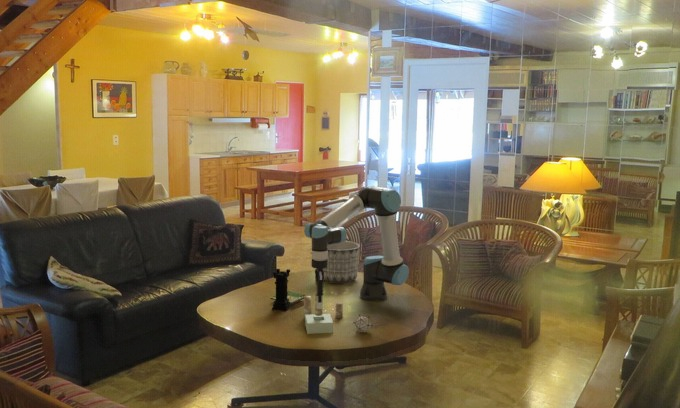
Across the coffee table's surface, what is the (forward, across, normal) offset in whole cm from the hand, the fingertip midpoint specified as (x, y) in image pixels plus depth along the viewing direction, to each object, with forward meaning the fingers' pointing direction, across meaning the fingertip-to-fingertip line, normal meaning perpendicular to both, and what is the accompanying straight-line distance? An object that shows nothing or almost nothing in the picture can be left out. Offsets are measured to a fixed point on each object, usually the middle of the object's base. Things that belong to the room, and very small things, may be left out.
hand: (319, 306), depth 280 cm
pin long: (+4, 0, 0) cm, 4 cm away
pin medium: (+11, -15, -4) cm, 19 cm away
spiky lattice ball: (+11, +7, +20) cm, 24 cm away
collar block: (+11, 0, 0) cm, 11 cm away
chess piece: (+11, -32, -16) cm, 37 cm away
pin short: (+11, -15, +12) cm, 22 cm away
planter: (+11, -80, +21) cm, 83 cm away
